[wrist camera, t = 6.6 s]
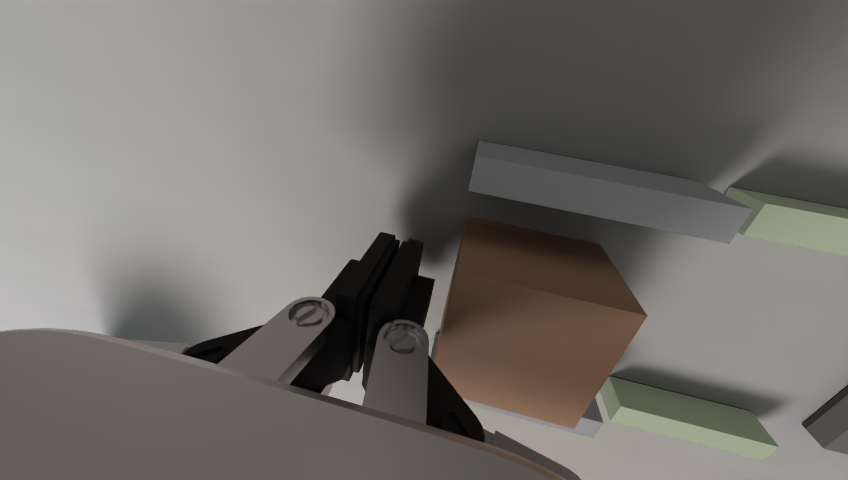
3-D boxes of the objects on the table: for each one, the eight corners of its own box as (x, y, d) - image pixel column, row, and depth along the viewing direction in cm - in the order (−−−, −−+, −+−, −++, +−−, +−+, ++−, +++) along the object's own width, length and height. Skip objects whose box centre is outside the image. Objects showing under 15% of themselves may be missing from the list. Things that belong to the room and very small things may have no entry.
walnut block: (466, 215, 12) (457, 271, 9) (600, 244, 12) (647, 316, 8) (443, 314, 14) (428, 389, 11) (553, 341, 14) (574, 429, 10)
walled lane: (478, 140, 11) (475, 155, 9) (696, 180, 10) (753, 209, 8) (432, 347, 15) (422, 392, 13) (577, 384, 15) (593, 438, 13)
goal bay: (729, 187, 10) (765, 203, 9) (944, 227, 9) (1018, 251, 8) (599, 390, 15) (610, 420, 13) (736, 425, 14) (762, 460, 13)
